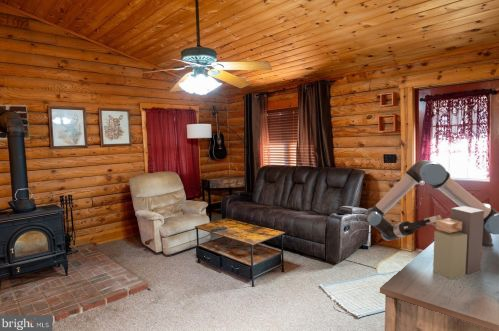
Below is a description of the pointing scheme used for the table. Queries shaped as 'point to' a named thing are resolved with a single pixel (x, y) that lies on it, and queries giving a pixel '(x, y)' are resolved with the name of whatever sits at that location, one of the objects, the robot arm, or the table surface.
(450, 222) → the handle block
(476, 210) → the tall stand
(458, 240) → the low stand
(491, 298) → the table surface
